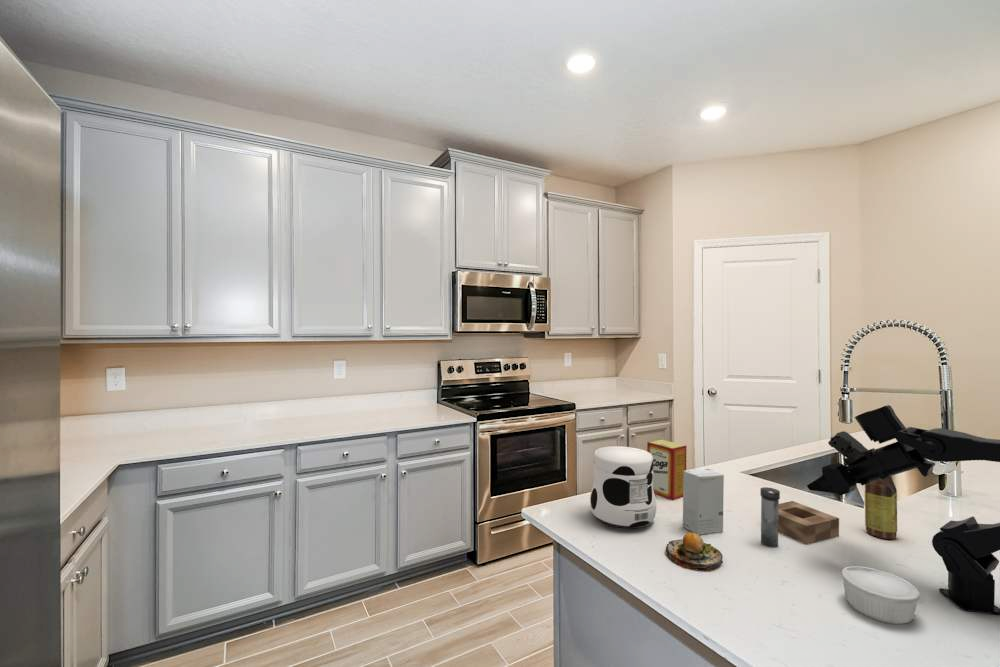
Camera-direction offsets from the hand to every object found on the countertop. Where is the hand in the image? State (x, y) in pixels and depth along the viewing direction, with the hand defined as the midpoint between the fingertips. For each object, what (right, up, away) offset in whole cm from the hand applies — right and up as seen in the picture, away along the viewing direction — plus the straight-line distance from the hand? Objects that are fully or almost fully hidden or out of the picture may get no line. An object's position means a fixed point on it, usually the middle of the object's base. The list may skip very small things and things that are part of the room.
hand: (817, 484), depth 107 cm
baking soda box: (-23, -15, +34) cm, 44 cm away
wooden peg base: (+1, -15, +9) cm, 17 cm away
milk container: (-42, -15, +15) cm, 47 cm away
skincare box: (-23, -15, +10) cm, 29 cm away
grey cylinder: (-11, -15, +2) cm, 18 cm away
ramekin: (-5, -16, -23) cm, 29 cm away
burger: (-32, -16, -5) cm, 35 cm away
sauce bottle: (+20, -15, +7) cm, 26 cm away
